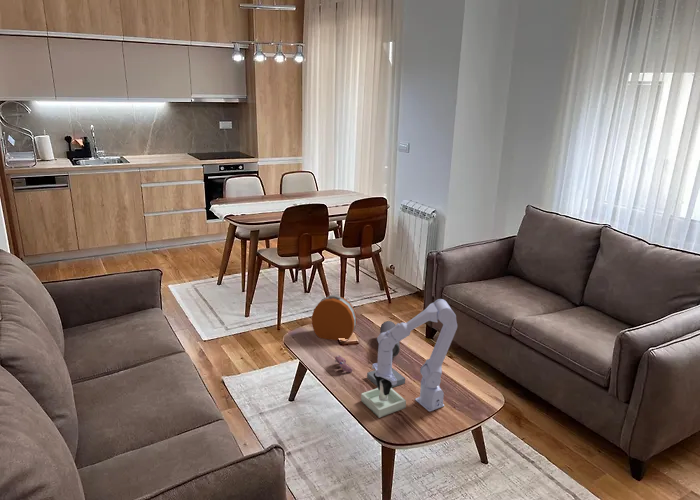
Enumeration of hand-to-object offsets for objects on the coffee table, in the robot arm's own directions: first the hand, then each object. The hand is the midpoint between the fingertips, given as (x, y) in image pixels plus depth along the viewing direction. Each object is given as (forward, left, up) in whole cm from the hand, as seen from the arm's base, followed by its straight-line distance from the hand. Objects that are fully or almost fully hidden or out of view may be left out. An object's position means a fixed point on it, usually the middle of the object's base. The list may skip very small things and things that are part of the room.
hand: (383, 391), depth 202 cm
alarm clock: (+62, -12, -6) cm, 63 cm away
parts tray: (0, 0, -6) cm, 6 cm away
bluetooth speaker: (+37, -29, -6) cm, 47 cm away
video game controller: (+32, 0, -6) cm, 32 cm away
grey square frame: (+14, -11, -6) cm, 19 cm away
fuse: (0, 0, -3) cm, 4 cm away
